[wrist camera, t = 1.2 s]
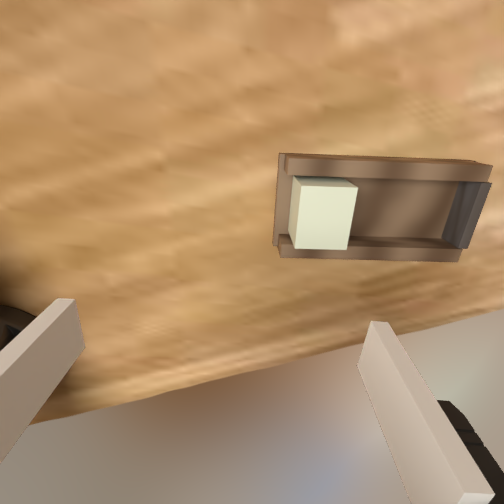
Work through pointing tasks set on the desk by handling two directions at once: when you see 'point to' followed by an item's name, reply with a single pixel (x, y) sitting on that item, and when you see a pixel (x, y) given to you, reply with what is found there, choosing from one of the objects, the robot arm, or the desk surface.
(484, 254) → the desk surface
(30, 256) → the desk surface
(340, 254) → the chute
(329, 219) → the block
